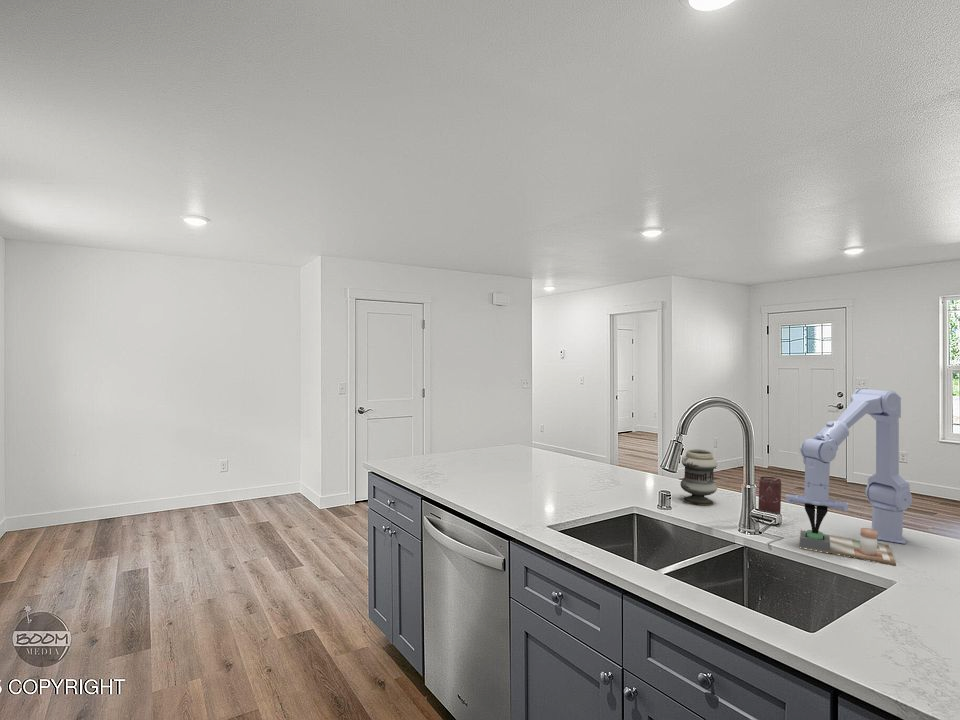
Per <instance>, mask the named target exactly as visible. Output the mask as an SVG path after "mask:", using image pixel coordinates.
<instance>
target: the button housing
mask: <svg viewBox="0 0 960 720" xmlns="http://www.w3.org/2000/svg"><path fill="white" fill-rule="evenodd" d="M800 531H801V530H800ZM806 531H807V530H803V531H801V535H799V547H800V546H801V547H807V548H813V549H818V550H824V551H829V552H830V537H829V535H830V534H827V535H824V534H825V533H823V540H819V539H814V538H808V537H807V532H806Z"/></svg>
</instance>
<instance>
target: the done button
mask: <svg viewBox="0 0 960 720" xmlns="http://www.w3.org/2000/svg"><path fill="white" fill-rule="evenodd" d="M806 531H807V537H808V538H814V539H819V540H823V534H824V532H822V531H818V534H817V533H812V529H807V530H806Z"/></svg>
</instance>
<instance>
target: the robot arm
mask: <svg viewBox="0 0 960 720" xmlns="http://www.w3.org/2000/svg"><path fill="white" fill-rule="evenodd" d="M901 404H902V397H900V395H899V394H898V393H896V391H894V390H881V389H880V390H879V389H867V388H861V387H860V388H857V389H856V390H855V391H854V392H853V393H852V395H850V403H849V405H847V407H846V409H844V411H843V412H842V413H841V415H840V416H839V417H838V418H837V419H836V420H829V421H827V422H826V424H825V425H824V426H823V428H822V429H821V430H819V431H818V433H817V434H816V435H815V436H813V438H811V437H810V438H807V439H805V440H804V441H803V442H802V445H801V447H800V448H799V450H800V452H799V453H800V454H801V456H802V459H803V460H802V461H803V465H804V488H803V489H804V491H803V493H804V495H801V494H799V495H797V494H788V493H786V494H785V503H787V504H790V503H792V504H798V505H804V510H805V513H806V514H807V516H808V519H809V523H810V526H811V527H810V528H811V530H812V533H817V534H818V531H819V530H820V527H821V524H822V522H823V520H824V518H825V516H826V515H827V513H828V509H831V510H832V509H833V510H839V511H843V512H849V503H848V502H845V501H840V500H835V499H830V497H829V495H830V470H831V469H830V468H831V464H830V463H831V462H832V461H833V460H835V458H836V456H837V451H838V450H839V446H840V445H842V443H843V442H844V441H846V439H847V438H848V437H849V435H850V431H849V429H850V428H851V427H852V426H854V425H855V424H856V423H858V421H860V419H861V418H863V417H864V416H865V415H869V416H870V417H872V419H873V420H875V473H874V474H872V475H870V476H869V477H867V485H866V487H865V492H864V493H865V497H866V499H867V501H869V505H871V506H872V510H871V511H872V512H871V528H870V527H869V528H868V529H873V530H876V531H878V538H877V541H878V540H879V541H885V542H891V543H897V544H904V545H905V544H906V540H905V538H904V536H903V532H904V531H903V530H904V526H903V525H904V511H907V509H909V508H910V506H911V505H912V502H913V496H912V493H911V490H910V489H911V488H910V483H909V482H908V481H907V480H906V479H905V478H903V477H902V476H901V475H900V469H899V468H900V467H899V466H900V464H899V463H900V461H899V460H900V453H899V452H900V439H899V438H900V437H899V436H900V435H899V434H900V418H901V417H902V415H901V413H902V409H901V408H902V405H901Z"/></svg>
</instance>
